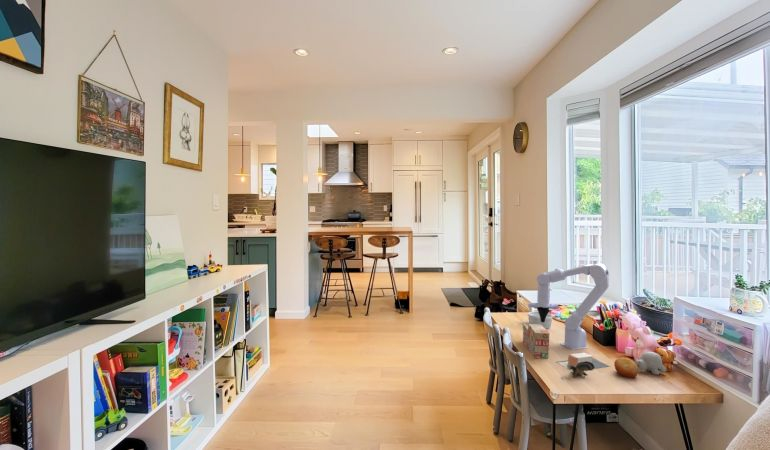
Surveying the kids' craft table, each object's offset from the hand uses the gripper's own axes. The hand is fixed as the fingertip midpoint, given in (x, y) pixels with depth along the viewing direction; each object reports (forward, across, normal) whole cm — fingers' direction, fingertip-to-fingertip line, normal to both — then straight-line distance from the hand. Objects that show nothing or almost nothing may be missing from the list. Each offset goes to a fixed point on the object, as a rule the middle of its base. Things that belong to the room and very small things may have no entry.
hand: (542, 321), depth 183 cm
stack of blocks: (+10, -7, -16) cm, 20 cm away
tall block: (+7, +12, -28) cm, 31 cm away
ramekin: (+10, +5, +24) cm, 26 cm away
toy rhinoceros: (+10, +33, -32) cm, 47 cm away
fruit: (+10, +23, -37) cm, 44 cm away
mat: (+9, +9, -30) cm, 32 cm away
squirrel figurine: (+10, +4, -42) cm, 43 cm away
